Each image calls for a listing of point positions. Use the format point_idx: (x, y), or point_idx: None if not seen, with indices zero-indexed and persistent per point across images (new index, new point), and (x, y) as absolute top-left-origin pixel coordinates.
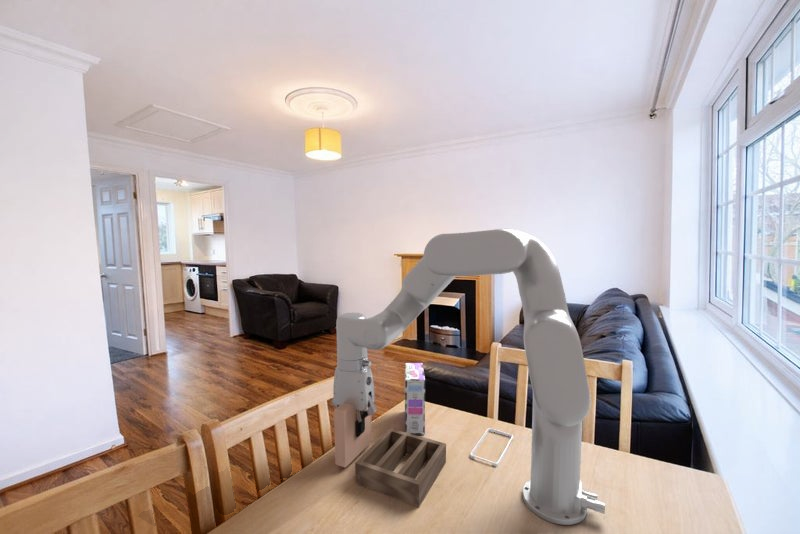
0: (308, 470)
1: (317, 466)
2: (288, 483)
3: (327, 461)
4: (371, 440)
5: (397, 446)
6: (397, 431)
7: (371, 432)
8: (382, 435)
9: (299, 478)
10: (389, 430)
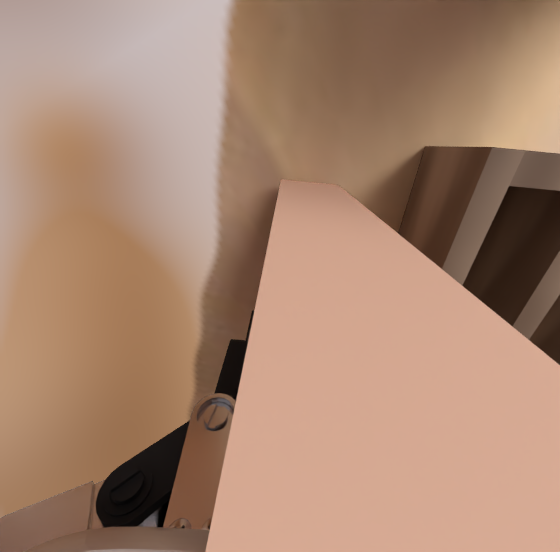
0: (199, 368)
1: (210, 349)
2: (192, 411)
3: (222, 324)
4: (338, 186)
5: (547, 309)
6: (556, 169)
7: (348, 193)
8: (450, 251)
9: (202, 394)
10: (492, 179)
